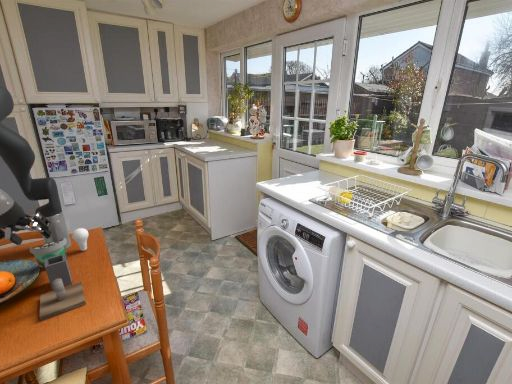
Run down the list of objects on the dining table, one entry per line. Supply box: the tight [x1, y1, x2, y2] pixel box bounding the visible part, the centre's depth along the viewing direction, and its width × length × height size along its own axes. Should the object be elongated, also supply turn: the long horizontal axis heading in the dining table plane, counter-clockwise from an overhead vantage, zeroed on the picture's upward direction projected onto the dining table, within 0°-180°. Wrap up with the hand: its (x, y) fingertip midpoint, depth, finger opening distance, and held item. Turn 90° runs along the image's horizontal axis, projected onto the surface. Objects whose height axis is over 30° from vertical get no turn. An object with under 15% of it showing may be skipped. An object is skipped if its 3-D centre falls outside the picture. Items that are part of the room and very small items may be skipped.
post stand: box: [39, 278, 87, 322], centre depth 89 cm, size 12×12×8 cm
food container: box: [29, 238, 68, 270], centre depth 108 cm, size 12×6×10 cm, turn 131°
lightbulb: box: [71, 227, 89, 252], centre depth 118 cm, size 6×6×11 cm
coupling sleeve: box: [44, 254, 73, 291], centre depth 97 cm, size 6×6×10 cm
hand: (35, 239), depth 85 cm, fingers open, 8 cm apart
